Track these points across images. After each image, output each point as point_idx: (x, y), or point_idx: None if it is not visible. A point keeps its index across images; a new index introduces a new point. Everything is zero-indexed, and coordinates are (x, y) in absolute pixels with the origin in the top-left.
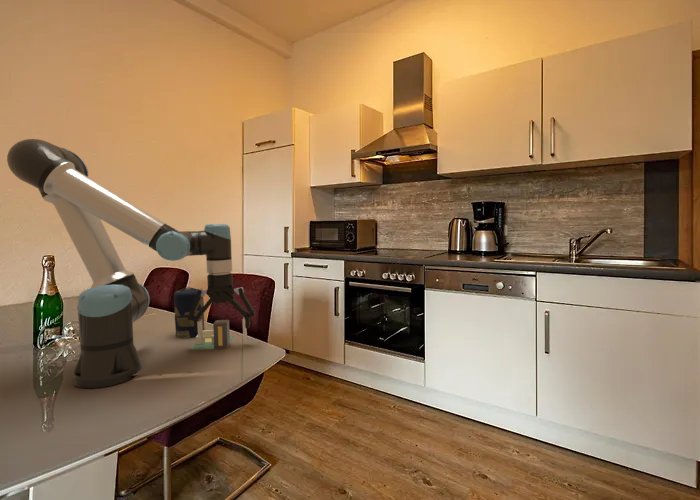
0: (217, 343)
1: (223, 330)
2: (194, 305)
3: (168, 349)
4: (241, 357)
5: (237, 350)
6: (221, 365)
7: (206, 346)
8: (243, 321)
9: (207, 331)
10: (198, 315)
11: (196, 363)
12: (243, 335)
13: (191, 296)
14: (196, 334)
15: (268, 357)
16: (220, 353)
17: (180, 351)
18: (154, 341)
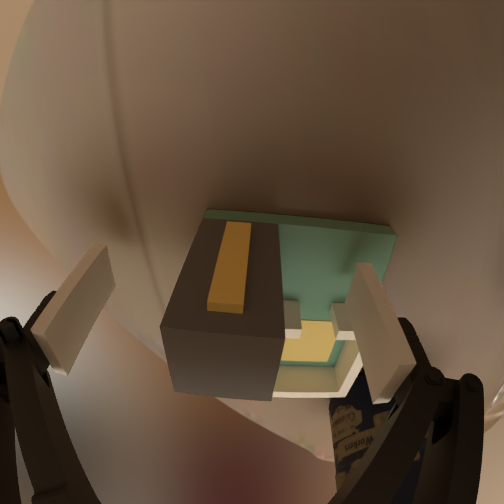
0: (257, 237)
1: (203, 285)
2: (469, 485)
3: (455, 299)
4: (119, 110)
5: (160, 219)
6: (207, 7)
7: (322, 269)
8: (46, 318)
9: (321, 389)
10: (421, 411)
11: (352, 68)
12: (94, 256)
13: None
14: (360, 387)
15: (20, 106)
16: (241, 192)
17: (425, 268)
18: (464, 365)
